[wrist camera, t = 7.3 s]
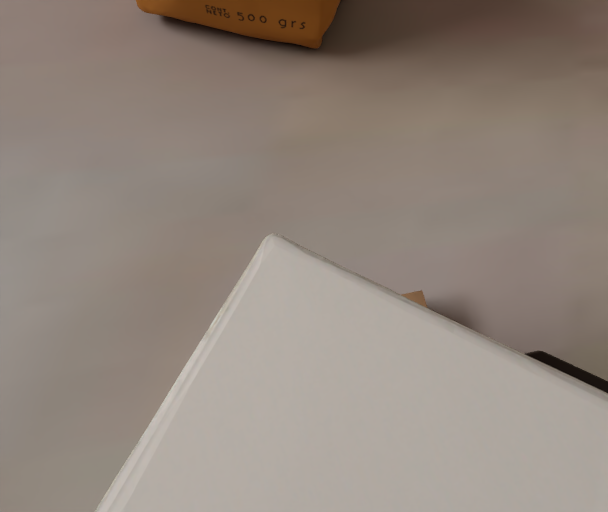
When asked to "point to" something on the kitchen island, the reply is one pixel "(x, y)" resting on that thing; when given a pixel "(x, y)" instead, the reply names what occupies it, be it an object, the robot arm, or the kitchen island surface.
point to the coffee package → (254, 17)
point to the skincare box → (360, 409)
